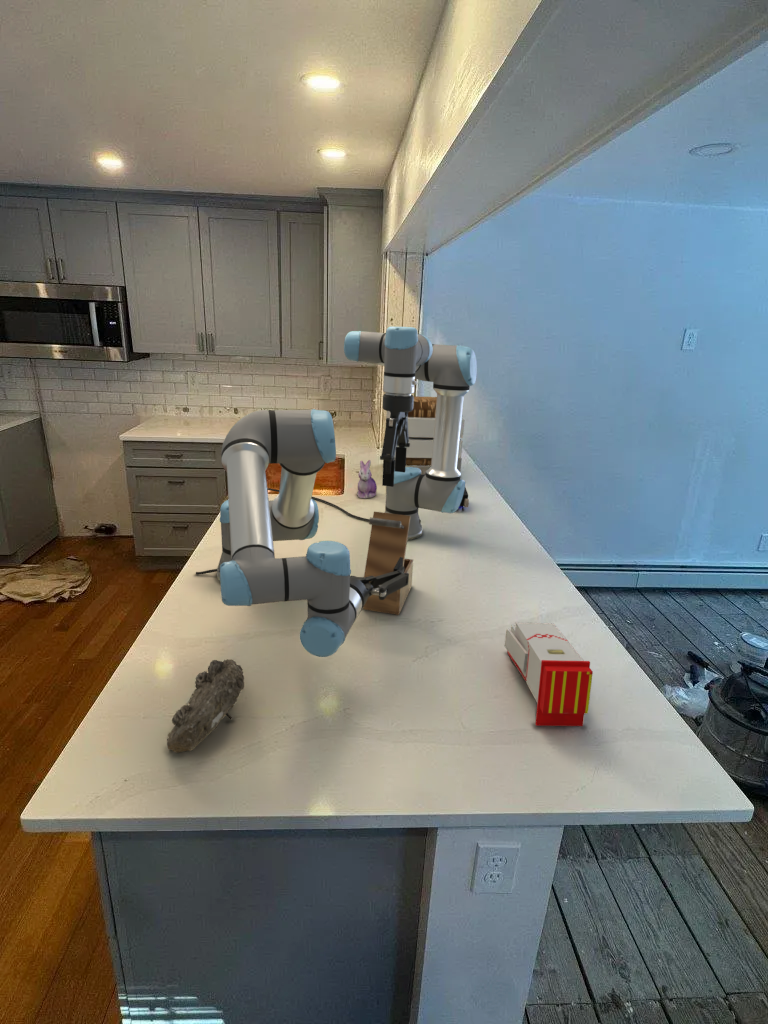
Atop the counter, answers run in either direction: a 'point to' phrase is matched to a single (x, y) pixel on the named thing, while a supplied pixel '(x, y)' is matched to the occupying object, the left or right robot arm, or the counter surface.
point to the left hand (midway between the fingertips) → (372, 558)
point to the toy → (551, 672)
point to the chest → (392, 596)
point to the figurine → (366, 481)
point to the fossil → (206, 705)
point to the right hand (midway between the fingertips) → (394, 478)
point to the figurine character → (464, 500)
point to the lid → (386, 542)
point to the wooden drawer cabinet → (424, 433)
